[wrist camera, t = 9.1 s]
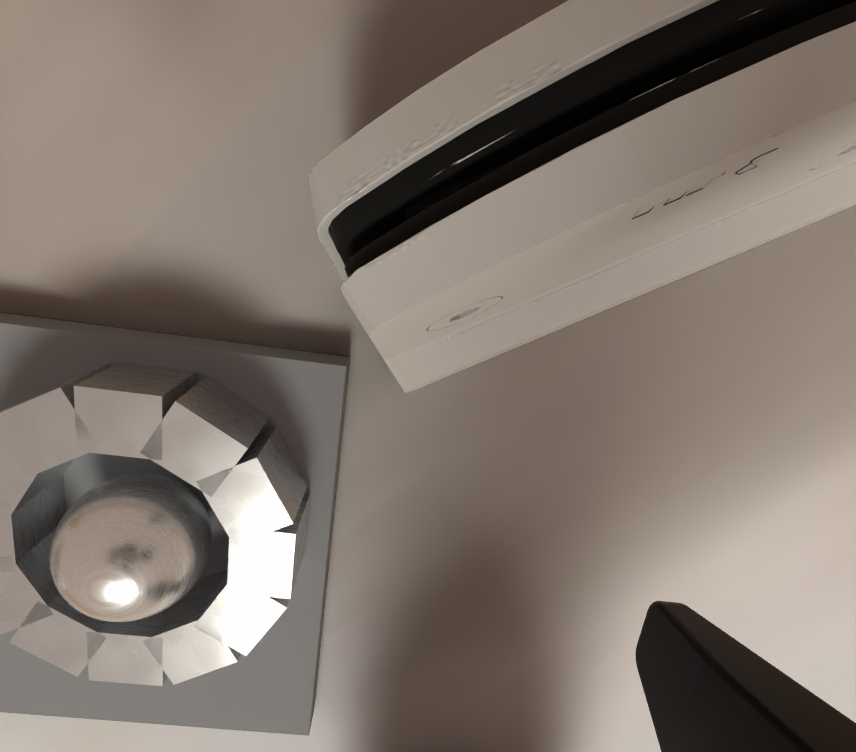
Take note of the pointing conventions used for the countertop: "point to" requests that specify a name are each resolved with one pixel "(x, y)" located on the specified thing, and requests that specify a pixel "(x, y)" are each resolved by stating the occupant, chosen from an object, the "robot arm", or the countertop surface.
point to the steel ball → (130, 547)
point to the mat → (319, 462)
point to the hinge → (586, 170)
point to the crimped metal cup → (186, 458)
